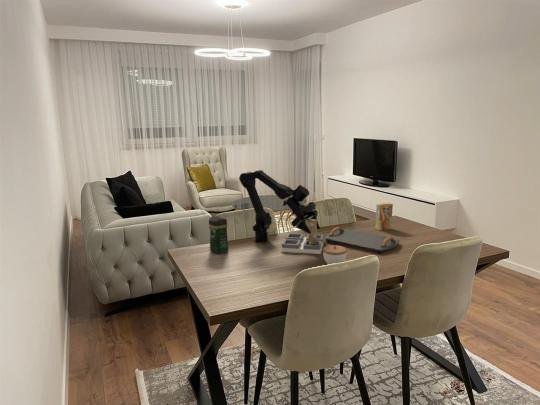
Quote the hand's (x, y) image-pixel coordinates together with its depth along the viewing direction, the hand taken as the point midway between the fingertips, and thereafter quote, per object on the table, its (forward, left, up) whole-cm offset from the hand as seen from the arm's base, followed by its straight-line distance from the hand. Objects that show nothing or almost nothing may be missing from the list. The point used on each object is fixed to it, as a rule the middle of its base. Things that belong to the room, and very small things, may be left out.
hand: (315, 231), depth 210 cm
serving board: (+23, +18, -11) cm, 31 cm away
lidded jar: (+11, -17, -11) cm, 23 cm away
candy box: (+36, +47, -11) cm, 60 cm away
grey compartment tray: (-7, +6, -11) cm, 14 cm away
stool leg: (-1, +1, -9) cm, 9 cm away
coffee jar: (-48, -9, -11) cm, 50 cm away
